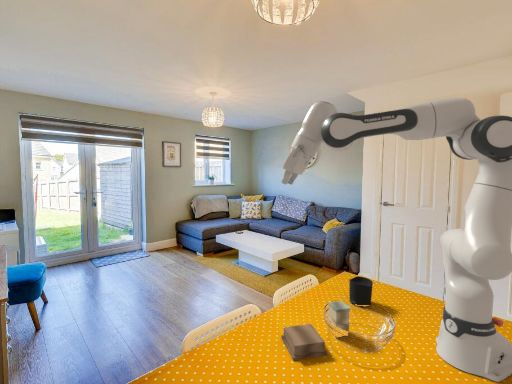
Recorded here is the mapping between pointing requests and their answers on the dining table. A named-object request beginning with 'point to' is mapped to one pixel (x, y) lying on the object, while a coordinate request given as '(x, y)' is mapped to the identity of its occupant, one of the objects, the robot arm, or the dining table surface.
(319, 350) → the plinth
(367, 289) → the pen holder
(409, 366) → the dining table surface
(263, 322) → the dining table surface
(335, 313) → the grey rectangular block
